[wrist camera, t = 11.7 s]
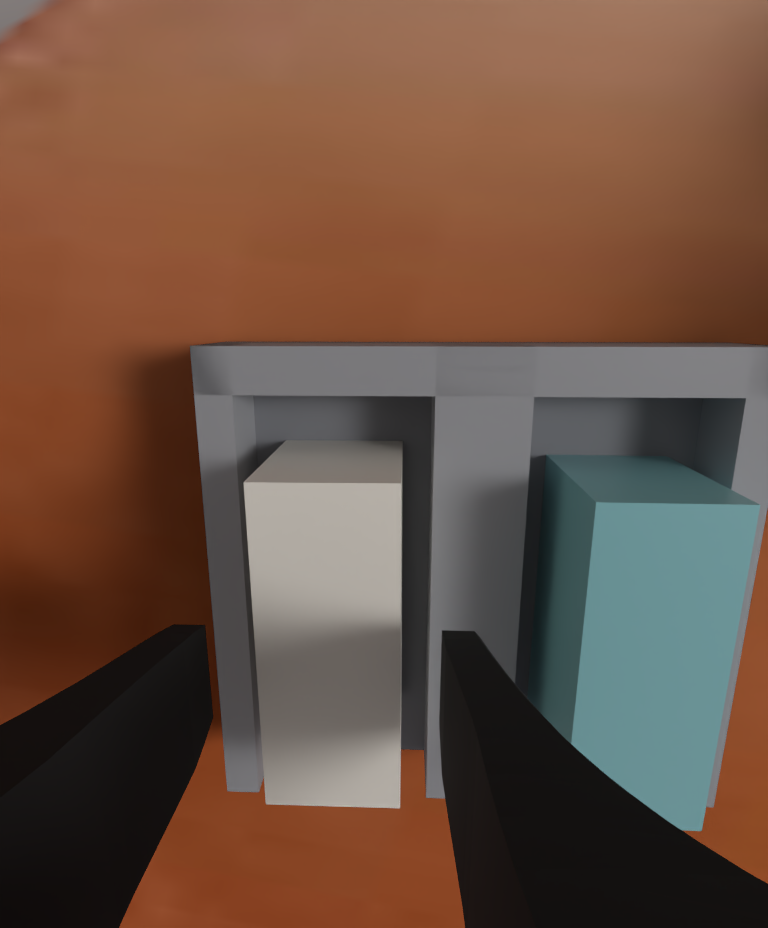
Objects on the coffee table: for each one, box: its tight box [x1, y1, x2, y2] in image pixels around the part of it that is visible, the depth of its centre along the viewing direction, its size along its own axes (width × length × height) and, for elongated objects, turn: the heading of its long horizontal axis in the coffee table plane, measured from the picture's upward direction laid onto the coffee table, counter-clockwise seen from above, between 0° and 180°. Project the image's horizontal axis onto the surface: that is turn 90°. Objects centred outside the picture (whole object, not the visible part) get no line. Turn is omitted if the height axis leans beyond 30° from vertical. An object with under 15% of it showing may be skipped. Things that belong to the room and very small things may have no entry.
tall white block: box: [244, 440, 403, 808], centre depth 12 cm, size 7×3×4 cm, turn 0°
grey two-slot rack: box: [190, 342, 768, 807], centre depth 14 cm, size 11×12×2 cm
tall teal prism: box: [527, 455, 760, 831], centre depth 12 cm, size 7×3×4 cm, turn 0°
